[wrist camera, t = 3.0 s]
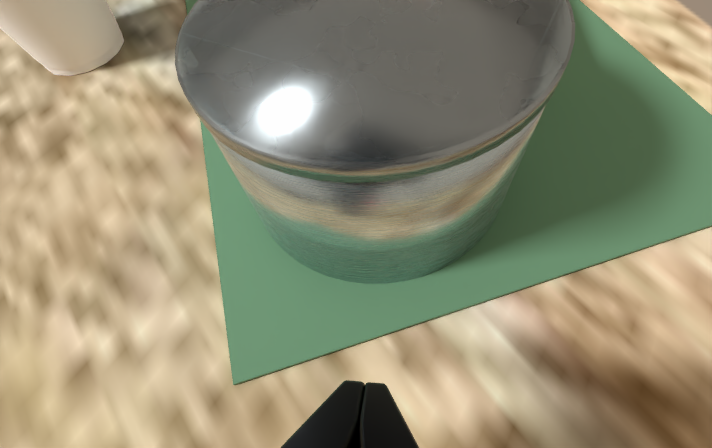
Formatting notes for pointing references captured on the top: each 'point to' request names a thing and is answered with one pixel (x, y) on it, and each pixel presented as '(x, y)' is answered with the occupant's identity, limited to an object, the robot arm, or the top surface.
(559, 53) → the chrome metal canister
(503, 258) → the green mat
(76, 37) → the foam cup
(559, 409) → the top surface
